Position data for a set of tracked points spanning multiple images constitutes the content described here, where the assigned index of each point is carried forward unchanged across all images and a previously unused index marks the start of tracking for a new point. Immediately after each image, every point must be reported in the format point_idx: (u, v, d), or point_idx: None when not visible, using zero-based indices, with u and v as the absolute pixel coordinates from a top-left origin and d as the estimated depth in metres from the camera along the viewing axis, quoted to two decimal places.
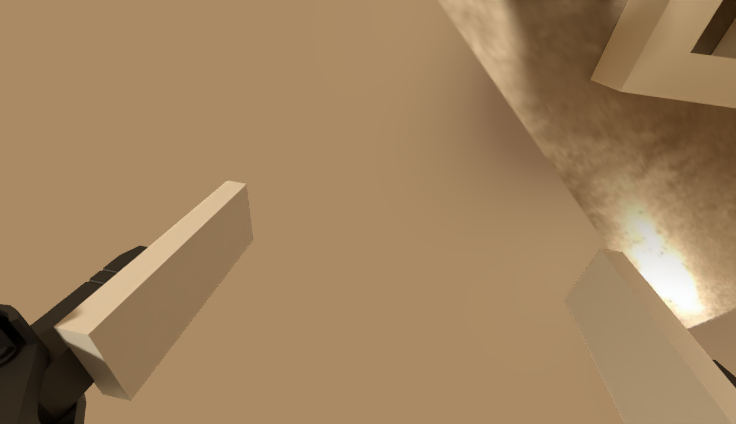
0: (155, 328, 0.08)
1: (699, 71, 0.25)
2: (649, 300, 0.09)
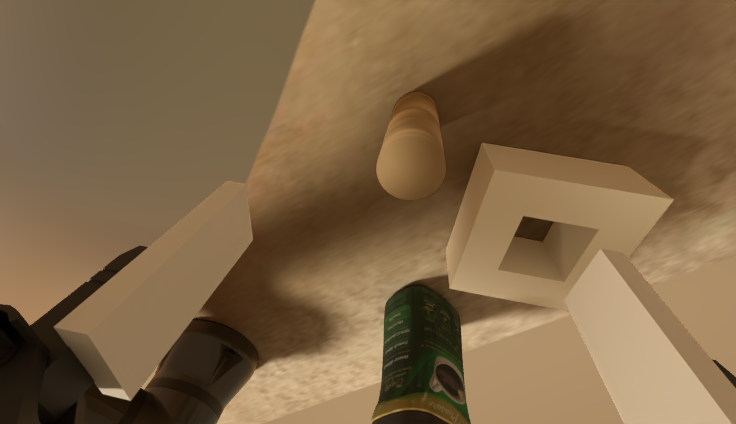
0: (155, 328, 0.08)
1: None
2: (649, 300, 0.09)
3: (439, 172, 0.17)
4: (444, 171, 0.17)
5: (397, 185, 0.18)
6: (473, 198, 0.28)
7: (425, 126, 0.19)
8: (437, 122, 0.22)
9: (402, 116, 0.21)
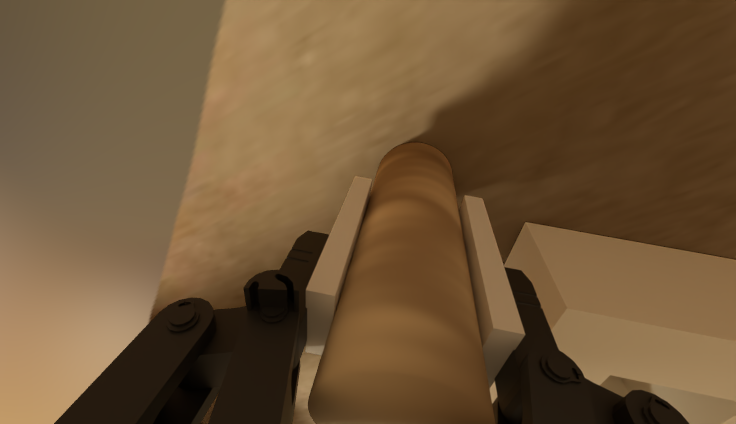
0: None
1: None
2: (480, 227, 0.11)
3: None
4: None
5: None
6: None
7: (438, 287, 0.07)
8: (458, 229, 0.11)
9: (385, 228, 0.10)
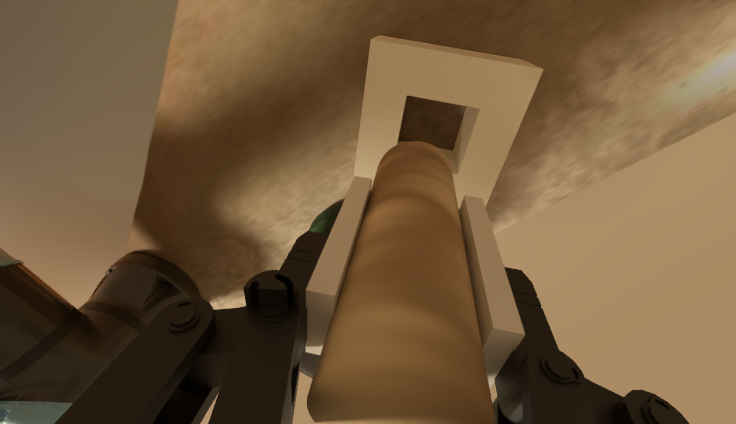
0: None
1: (475, 162, 0.27)
2: (480, 227, 0.11)
3: None
4: None
5: None
6: None
7: (437, 285, 0.07)
8: (458, 227, 0.11)
9: (384, 226, 0.10)
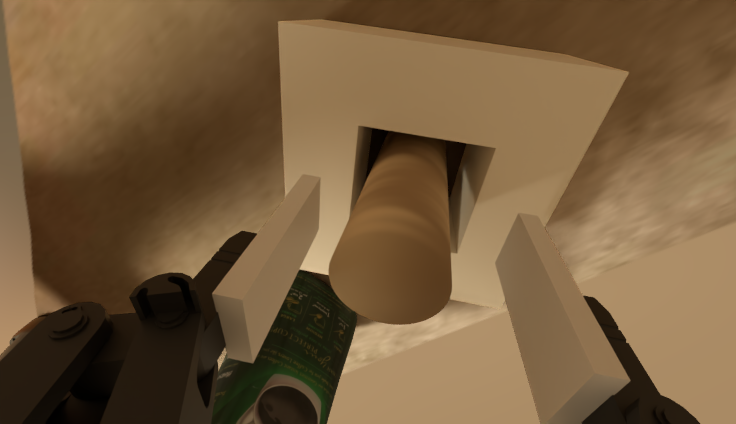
0: (269, 301, 0.09)
1: (488, 235, 0.15)
2: (545, 250, 0.10)
3: (439, 291, 0.10)
4: (448, 290, 0.10)
5: (366, 301, 0.11)
6: None
7: (419, 199, 0.11)
8: (442, 176, 0.14)
9: (385, 170, 0.13)
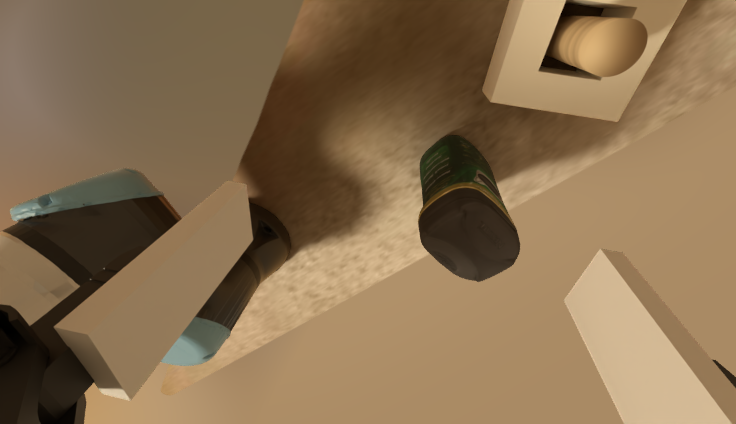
0: (155, 328, 0.08)
1: None
2: (649, 300, 0.09)
3: (639, 49, 0.23)
4: (644, 48, 0.23)
5: (600, 63, 0.24)
6: (516, 1, 0.30)
7: None
8: None
9: (587, 19, 0.26)
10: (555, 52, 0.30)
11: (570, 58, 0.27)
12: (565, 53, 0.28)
